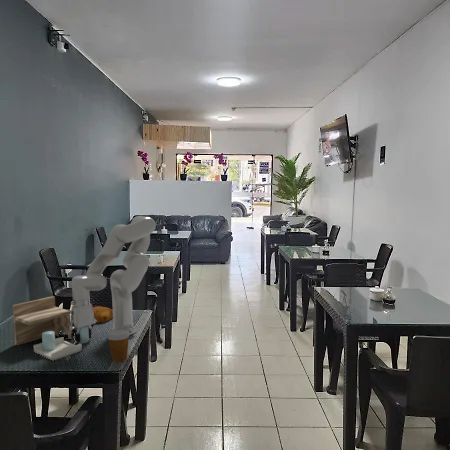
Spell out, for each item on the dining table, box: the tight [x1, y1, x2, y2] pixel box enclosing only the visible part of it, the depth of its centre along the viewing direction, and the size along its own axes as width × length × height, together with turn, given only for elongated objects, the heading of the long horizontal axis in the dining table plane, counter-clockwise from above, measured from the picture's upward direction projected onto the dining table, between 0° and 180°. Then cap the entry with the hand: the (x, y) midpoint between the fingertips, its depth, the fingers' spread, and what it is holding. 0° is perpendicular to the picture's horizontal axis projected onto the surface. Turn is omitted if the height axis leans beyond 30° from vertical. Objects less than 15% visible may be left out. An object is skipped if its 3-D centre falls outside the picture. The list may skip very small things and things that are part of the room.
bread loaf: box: [92, 305, 113, 324], centre depth 237 cm, size 14×16×8 cm
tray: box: [33, 331, 83, 362], centre depth 191 cm, size 16×14×8 cm
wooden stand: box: [12, 295, 72, 346], centre depth 202 cm, size 15×20×19 cm
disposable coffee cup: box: [106, 328, 131, 363], centre depth 181 cm, size 10×10×12 cm
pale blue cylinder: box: [77, 326, 90, 345], centre depth 203 cm, size 5×5×8 cm
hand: (83, 339), depth 203 cm, fingers closed on pale blue cylinder, 5 cm apart
